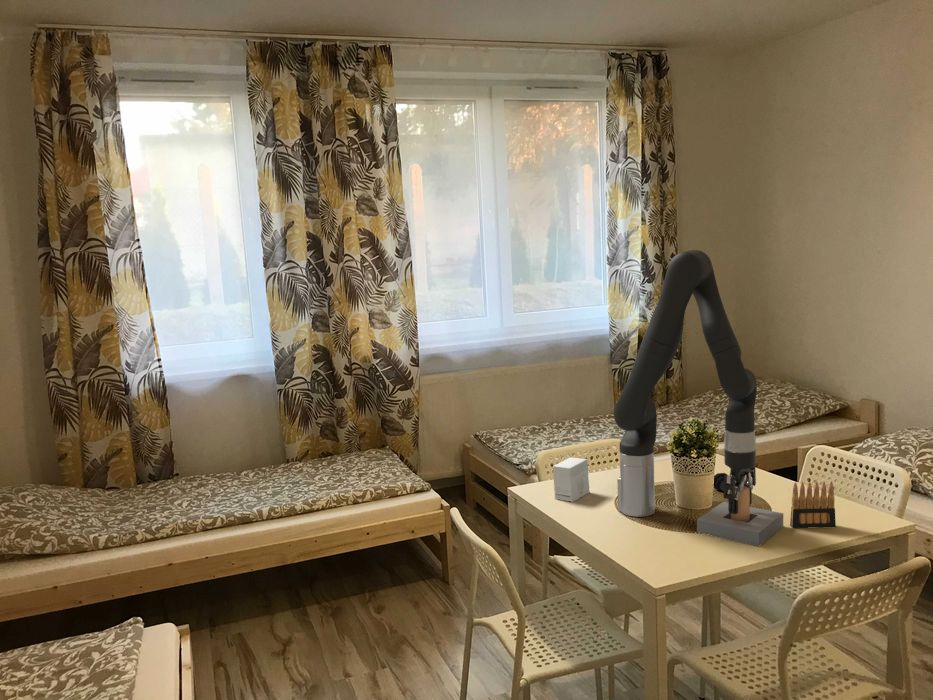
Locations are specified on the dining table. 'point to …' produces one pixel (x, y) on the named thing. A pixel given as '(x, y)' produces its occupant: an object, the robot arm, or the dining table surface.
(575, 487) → the skincare box
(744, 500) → the peg
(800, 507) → the ammunition clip
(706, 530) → the socket block
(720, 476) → the microphone
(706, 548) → the dining table surface
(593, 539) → the dining table surface
